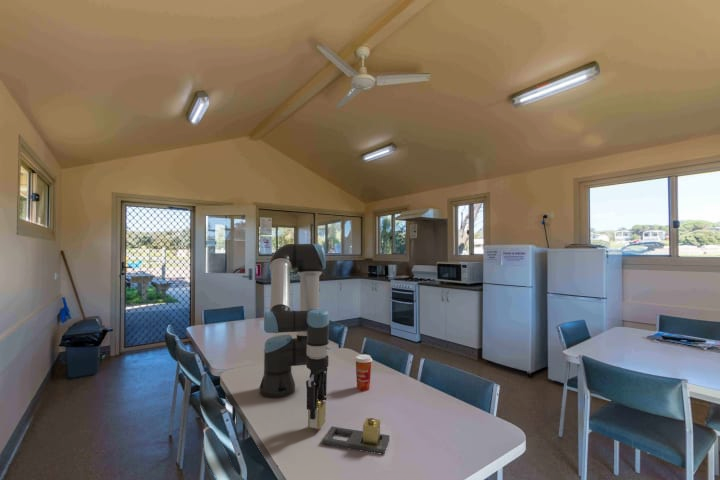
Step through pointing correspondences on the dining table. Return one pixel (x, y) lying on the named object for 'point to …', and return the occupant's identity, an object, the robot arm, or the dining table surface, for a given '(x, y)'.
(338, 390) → the dining table surface
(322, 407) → the yellow square bottle
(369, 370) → the paper cup
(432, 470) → the dining table surface
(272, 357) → the robot arm
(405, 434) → the dining table surface
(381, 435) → the holder with square slots
